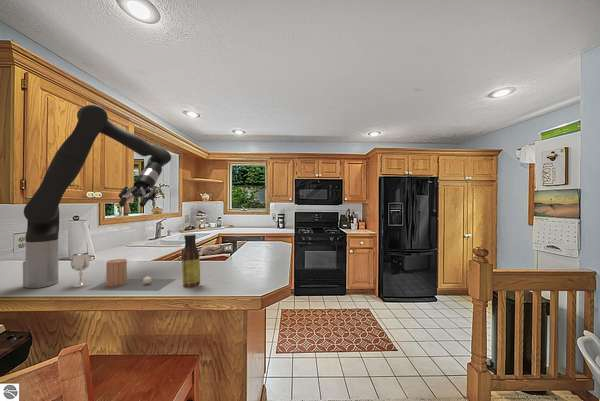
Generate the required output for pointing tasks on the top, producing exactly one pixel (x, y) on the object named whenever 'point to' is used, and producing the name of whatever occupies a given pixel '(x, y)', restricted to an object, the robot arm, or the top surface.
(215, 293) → the top surface
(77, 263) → the wineglass
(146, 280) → the ivory ball
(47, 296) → the top surface
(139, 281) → the rubber mat
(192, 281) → the sauce bottle
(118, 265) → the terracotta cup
